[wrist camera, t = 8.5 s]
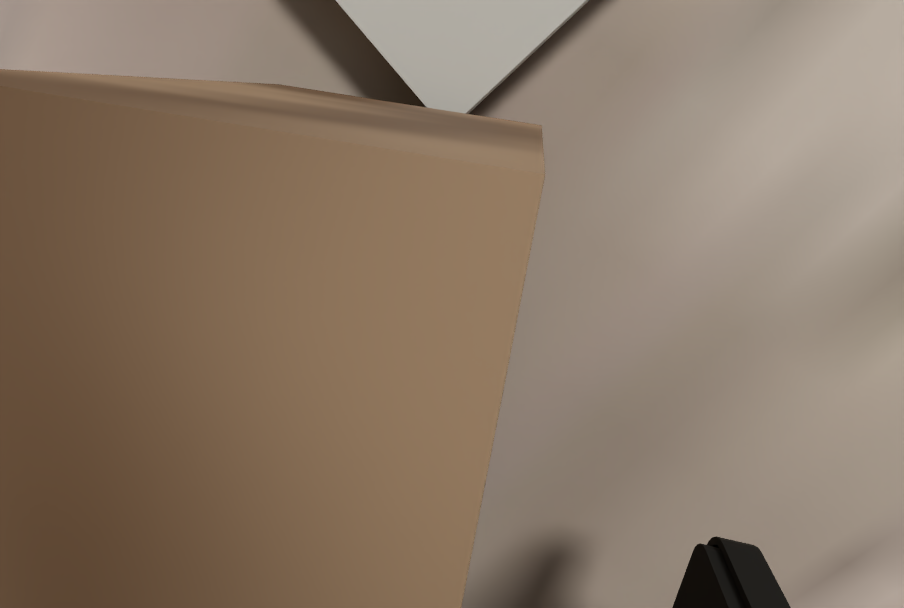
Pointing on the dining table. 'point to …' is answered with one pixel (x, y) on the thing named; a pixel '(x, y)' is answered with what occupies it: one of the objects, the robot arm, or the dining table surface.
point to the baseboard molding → (458, 42)
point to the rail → (250, 341)
